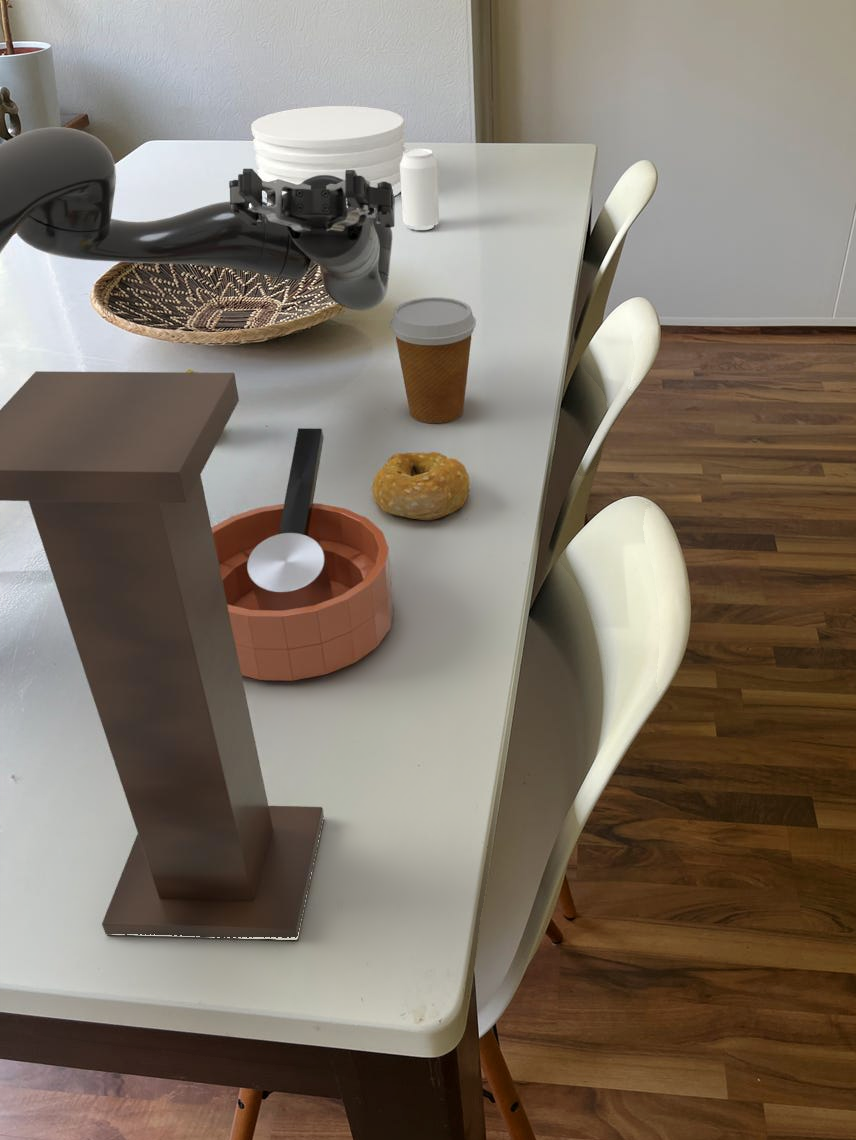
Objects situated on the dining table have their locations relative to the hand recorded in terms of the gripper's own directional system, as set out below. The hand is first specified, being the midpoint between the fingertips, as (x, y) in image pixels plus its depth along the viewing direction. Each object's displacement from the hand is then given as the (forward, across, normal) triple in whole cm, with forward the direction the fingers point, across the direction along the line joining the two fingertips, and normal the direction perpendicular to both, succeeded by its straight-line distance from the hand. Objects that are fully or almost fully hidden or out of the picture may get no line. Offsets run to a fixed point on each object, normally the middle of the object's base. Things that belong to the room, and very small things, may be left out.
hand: (297, 181), depth 84 cm
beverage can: (-96, -1, +17) cm, 97 cm away
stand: (+26, 0, -50) cm, 56 cm away
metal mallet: (-3, 0, -30) cm, 30 cm away
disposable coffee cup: (-33, -9, -17) cm, 38 cm away
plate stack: (-118, +18, +29) cm, 122 cm away
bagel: (-16, -9, -26) cm, 32 cm away
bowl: (+3, 0, -36) cm, 37 cm away
